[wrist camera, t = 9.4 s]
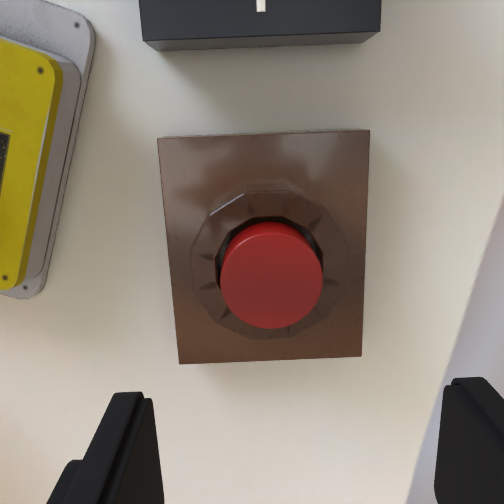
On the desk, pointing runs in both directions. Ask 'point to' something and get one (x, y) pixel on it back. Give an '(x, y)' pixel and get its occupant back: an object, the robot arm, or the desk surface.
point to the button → (270, 275)
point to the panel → (256, 23)
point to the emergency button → (37, 131)
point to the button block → (261, 210)
